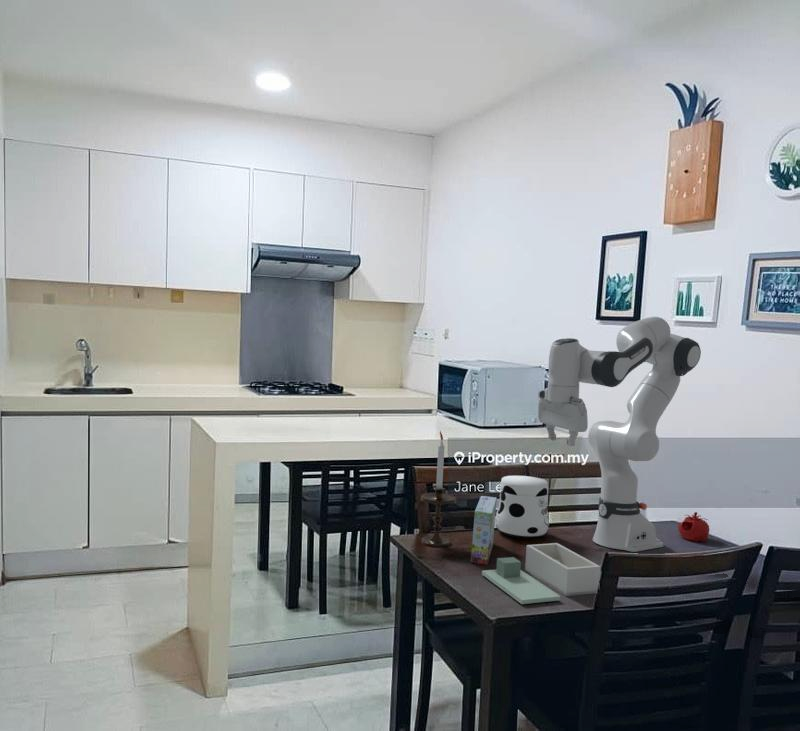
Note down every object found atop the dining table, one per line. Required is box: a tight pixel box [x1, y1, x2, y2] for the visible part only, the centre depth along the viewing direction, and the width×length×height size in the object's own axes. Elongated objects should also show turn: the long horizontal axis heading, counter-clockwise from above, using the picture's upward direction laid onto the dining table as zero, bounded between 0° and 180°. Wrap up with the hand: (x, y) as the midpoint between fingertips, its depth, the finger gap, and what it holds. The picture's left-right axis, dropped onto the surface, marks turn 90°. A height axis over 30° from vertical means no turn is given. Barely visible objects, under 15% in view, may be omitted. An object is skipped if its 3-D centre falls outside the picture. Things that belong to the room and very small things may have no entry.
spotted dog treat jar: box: [495, 475, 550, 539], centre depth 230 cm, size 17×17×18 cm
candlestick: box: [420, 430, 457, 548], centre depth 215 cm, size 11×11×35 cm
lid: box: [481, 556, 561, 605], centre depth 181 cm, size 11×21×6 cm, turn 21°
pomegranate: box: [677, 511, 710, 543], centre depth 235 cm, size 10×10×9 cm
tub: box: [524, 542, 601, 597], centre depth 188 cm, size 10×20×7 cm, turn 20°
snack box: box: [470, 495, 498, 566], centre depth 208 cm, size 21×6×15 cm, turn 168°
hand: (561, 442), depth 201 cm, fingers open, 8 cm apart
